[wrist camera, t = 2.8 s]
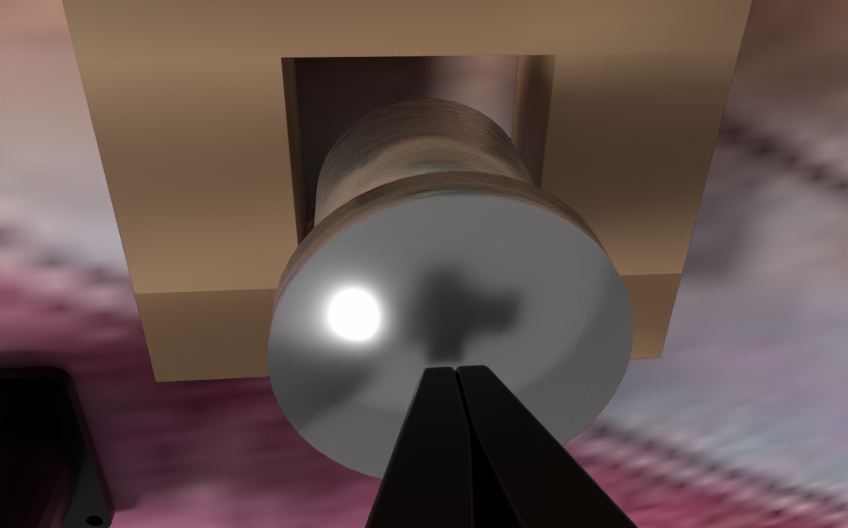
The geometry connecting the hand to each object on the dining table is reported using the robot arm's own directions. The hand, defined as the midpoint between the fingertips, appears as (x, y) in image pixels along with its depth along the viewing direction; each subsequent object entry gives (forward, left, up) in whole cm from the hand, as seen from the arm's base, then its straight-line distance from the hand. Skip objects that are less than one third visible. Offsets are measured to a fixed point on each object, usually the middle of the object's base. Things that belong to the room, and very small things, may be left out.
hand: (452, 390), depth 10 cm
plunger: (0, 0, -5) cm, 5 cm away
